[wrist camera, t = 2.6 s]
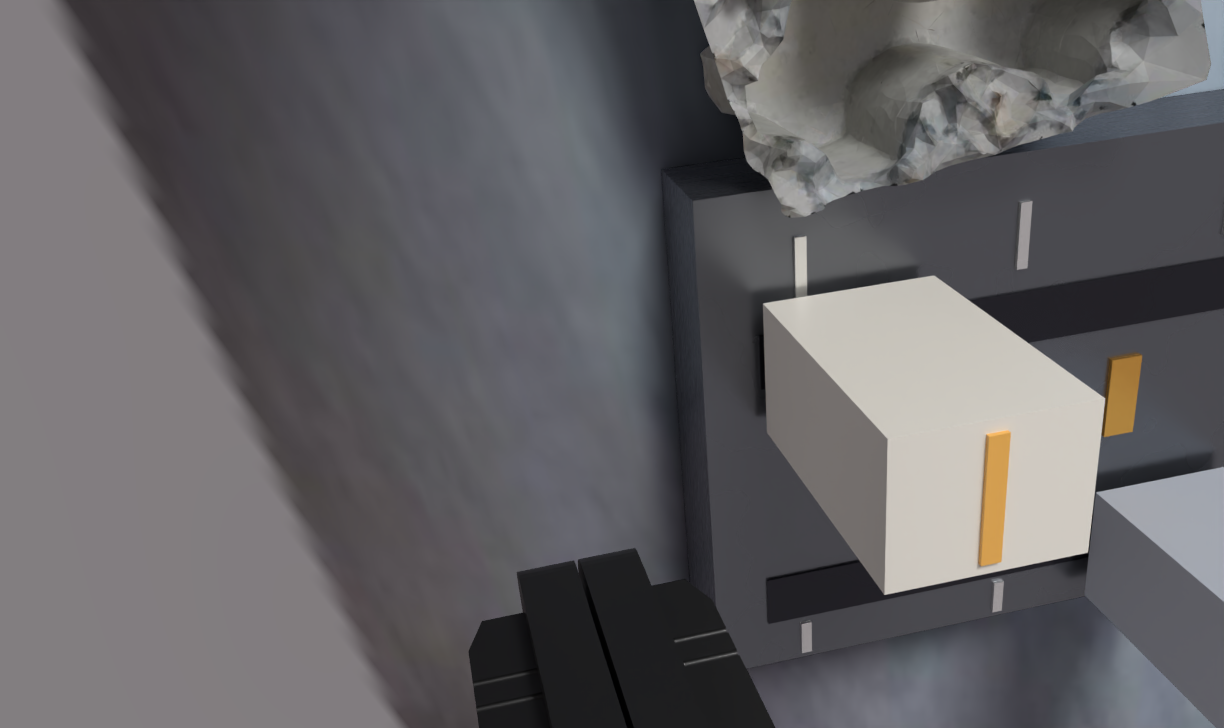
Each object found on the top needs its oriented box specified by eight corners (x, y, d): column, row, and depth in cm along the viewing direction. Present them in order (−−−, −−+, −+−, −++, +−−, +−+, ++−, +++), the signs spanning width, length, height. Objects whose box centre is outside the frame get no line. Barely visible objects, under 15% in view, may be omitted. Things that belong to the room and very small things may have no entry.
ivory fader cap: (762, 303, 18) (890, 441, 14) (934, 275, 19) (1108, 400, 15) (767, 431, 19) (886, 598, 15) (929, 402, 20) (1091, 555, 16)
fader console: (661, 169, 20) (694, 202, 18) (1252, 85, 21) (1337, 106, 19) (691, 612, 24) (721, 676, 22) (1186, 511, 25) (1252, 562, 24)
